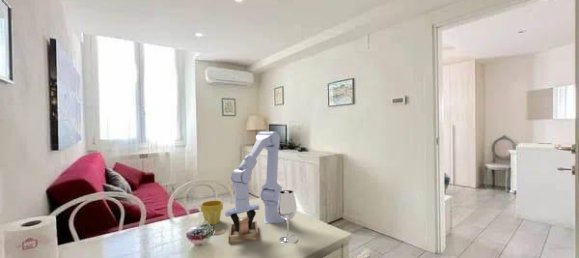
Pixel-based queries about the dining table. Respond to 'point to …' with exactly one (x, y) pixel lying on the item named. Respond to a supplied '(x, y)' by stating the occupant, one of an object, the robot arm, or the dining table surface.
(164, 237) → the dining table surface
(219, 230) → the cork mat
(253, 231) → the wooden tray
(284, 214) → the wineglass
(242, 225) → the terracotta pot
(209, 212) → the plant pot
